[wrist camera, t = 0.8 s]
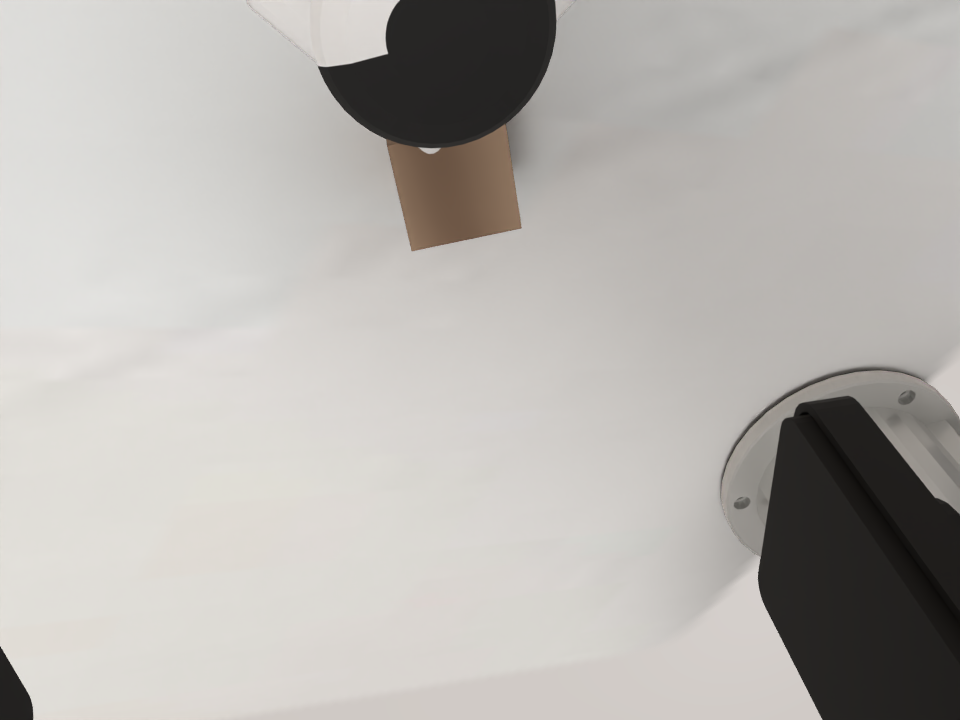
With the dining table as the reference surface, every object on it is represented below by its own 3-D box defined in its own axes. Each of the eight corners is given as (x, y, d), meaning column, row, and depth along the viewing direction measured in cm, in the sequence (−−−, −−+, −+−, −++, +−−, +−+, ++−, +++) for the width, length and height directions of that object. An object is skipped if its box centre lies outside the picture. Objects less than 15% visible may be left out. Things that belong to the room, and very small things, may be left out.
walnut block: (484, 76, 35) (505, 121, 31) (500, 174, 37) (521, 228, 33) (380, 97, 35) (387, 146, 30) (403, 194, 37) (411, 251, 33)
